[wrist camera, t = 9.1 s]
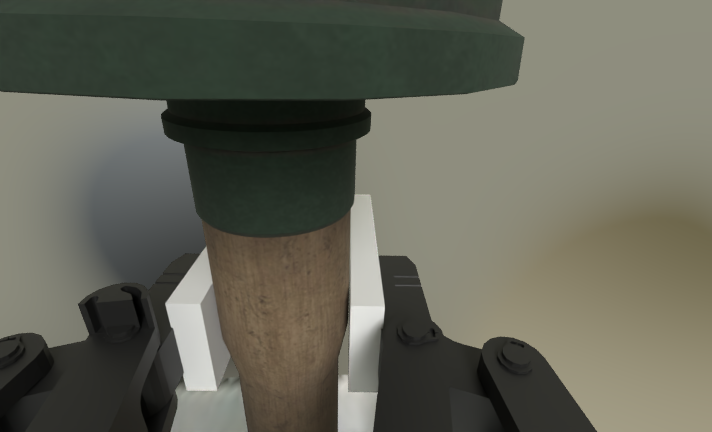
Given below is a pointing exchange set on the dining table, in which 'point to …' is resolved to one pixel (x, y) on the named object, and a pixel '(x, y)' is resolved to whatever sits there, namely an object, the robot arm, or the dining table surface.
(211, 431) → the dining table surface
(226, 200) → the stick grenade
